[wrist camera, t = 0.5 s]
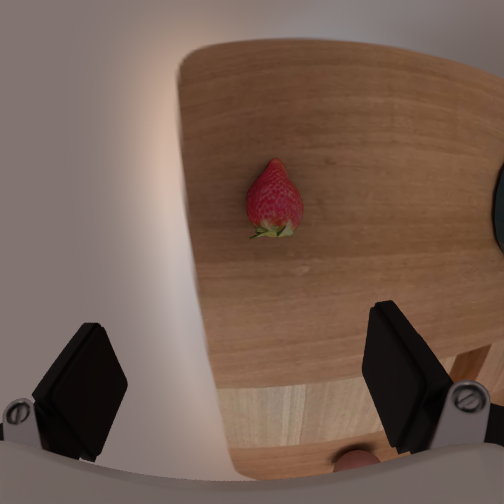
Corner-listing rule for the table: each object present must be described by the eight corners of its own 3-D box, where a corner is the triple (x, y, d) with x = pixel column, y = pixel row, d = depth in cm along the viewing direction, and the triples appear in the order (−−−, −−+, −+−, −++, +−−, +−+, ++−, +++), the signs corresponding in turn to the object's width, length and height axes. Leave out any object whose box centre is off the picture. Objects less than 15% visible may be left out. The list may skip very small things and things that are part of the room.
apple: (381, 449, 37) (394, 486, 30) (341, 468, 39) (349, 505, 31) (365, 434, 35) (378, 477, 27) (320, 455, 36) (328, 497, 29)
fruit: (306, 162, 22) (320, 167, 18) (294, 234, 24) (303, 256, 20) (252, 154, 22) (252, 156, 17) (242, 227, 24) (240, 249, 19)
